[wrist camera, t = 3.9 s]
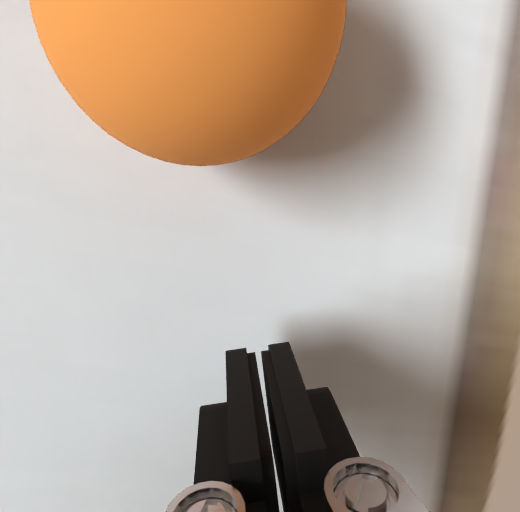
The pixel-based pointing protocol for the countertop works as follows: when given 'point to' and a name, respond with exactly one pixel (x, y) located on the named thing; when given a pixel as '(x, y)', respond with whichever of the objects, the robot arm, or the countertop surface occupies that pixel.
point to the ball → (193, 69)
